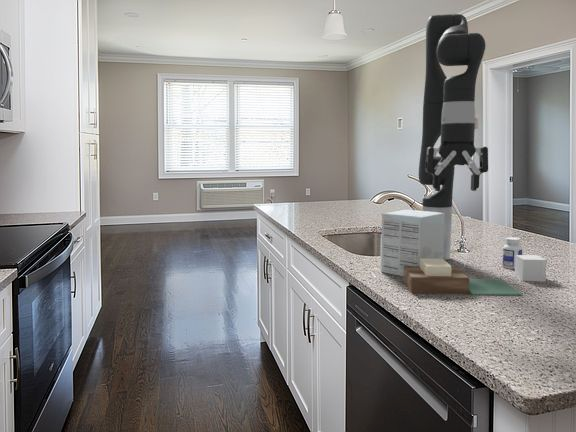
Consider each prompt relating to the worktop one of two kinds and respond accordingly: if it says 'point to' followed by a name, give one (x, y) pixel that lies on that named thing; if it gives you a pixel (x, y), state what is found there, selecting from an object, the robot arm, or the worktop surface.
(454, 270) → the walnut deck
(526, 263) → the white cube
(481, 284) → the green mat
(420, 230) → the supplement box
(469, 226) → the worktop surface
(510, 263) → the pill bottle
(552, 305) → the worktop surface
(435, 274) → the cream tile
